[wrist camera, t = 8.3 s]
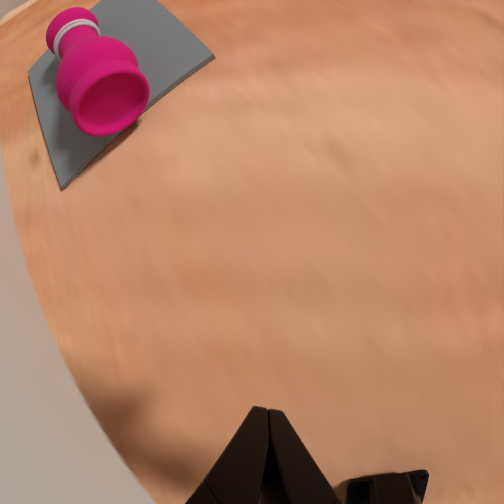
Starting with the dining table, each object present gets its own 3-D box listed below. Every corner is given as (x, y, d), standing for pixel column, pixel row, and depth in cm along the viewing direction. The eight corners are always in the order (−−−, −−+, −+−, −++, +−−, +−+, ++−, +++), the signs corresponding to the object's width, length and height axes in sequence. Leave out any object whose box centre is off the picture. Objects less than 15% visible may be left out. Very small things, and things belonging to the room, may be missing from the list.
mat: (215, 57, 23) (213, 53, 23) (65, 188, 26) (60, 187, 26) (132, -20, 27) (130, -22, 27) (30, 72, 30) (28, 71, 30)
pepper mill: (89, 156, 23) (49, 57, 28) (164, 112, 24) (101, 28, 29) (51, 100, 16) (28, 16, 21) (145, 47, 18) (85, -16, 22)
